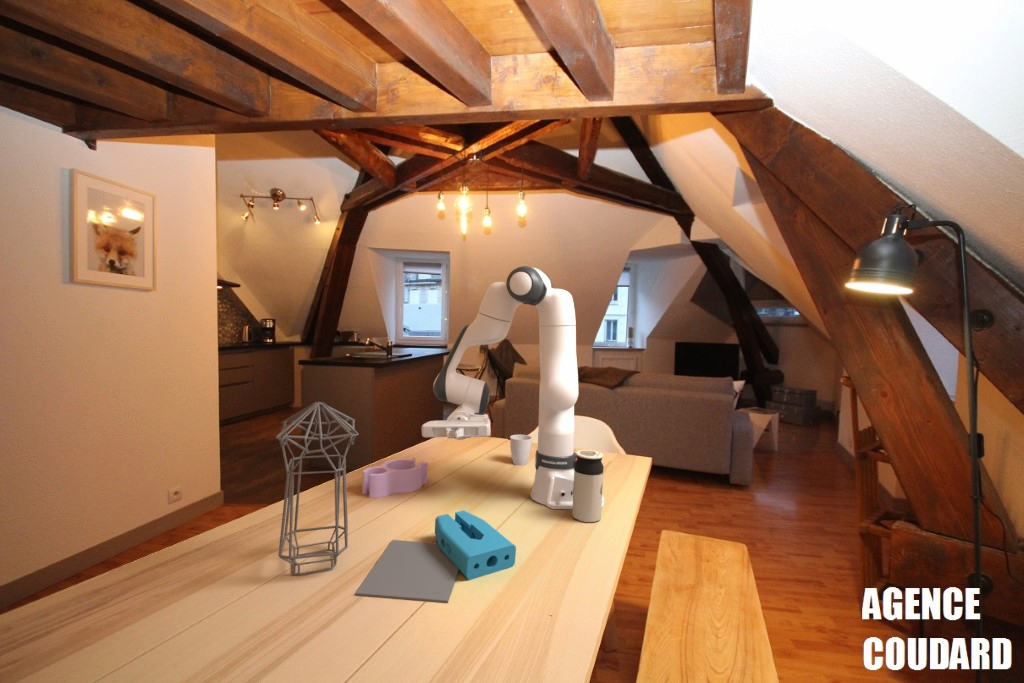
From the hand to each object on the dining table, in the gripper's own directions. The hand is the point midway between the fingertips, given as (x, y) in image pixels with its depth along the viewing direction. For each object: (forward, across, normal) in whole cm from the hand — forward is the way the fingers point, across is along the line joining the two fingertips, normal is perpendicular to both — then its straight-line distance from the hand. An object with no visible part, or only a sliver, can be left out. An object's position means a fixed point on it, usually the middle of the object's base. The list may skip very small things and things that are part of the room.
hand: (452, 435), depth 131 cm
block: (+15, +2, +18) cm, 24 cm away
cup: (-47, +16, +23) cm, 54 cm away
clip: (-14, -22, +20) cm, 33 cm away
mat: (+31, -2, +21) cm, 38 cm away
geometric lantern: (+32, -24, +20) cm, 45 cm away
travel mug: (-2, +37, +24) cm, 44 cm away
